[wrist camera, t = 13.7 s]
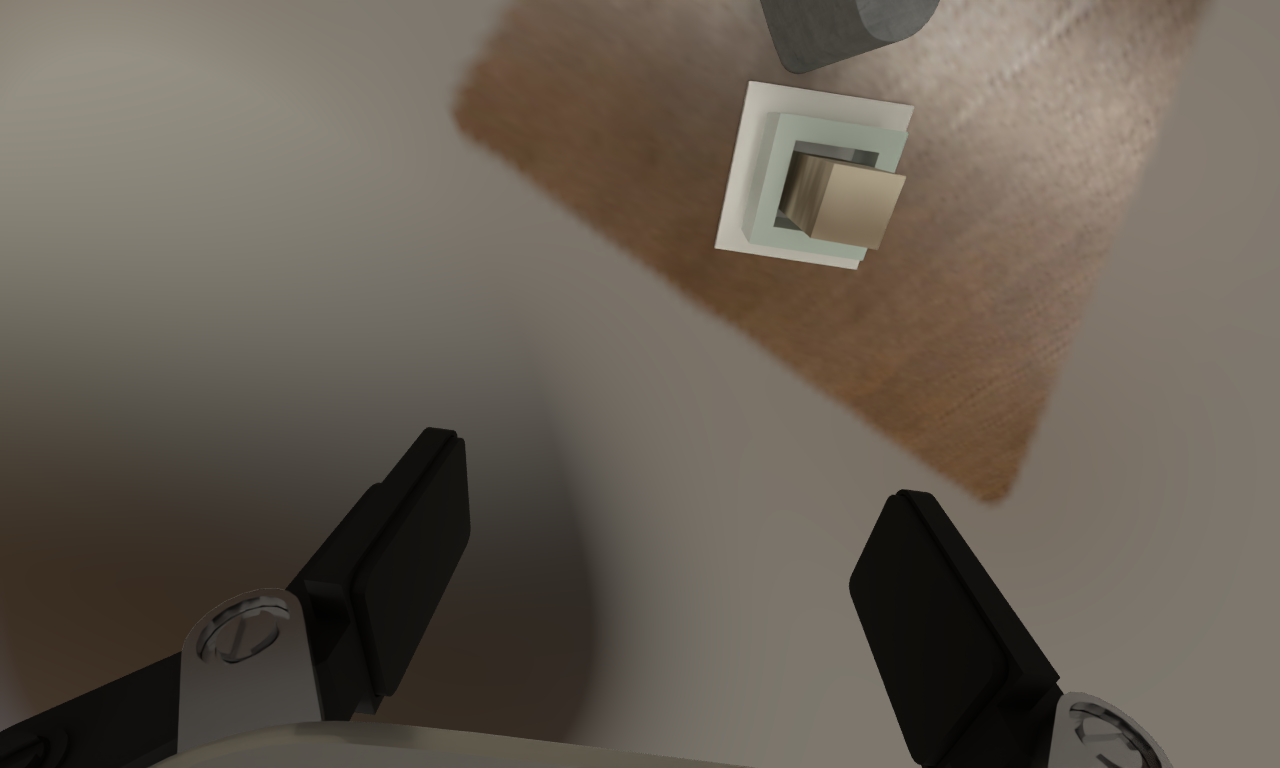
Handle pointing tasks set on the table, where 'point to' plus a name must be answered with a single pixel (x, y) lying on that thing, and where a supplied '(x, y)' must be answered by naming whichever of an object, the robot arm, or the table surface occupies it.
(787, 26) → the hip flask
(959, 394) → the table surface
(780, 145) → the socket holder
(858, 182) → the beech peg
